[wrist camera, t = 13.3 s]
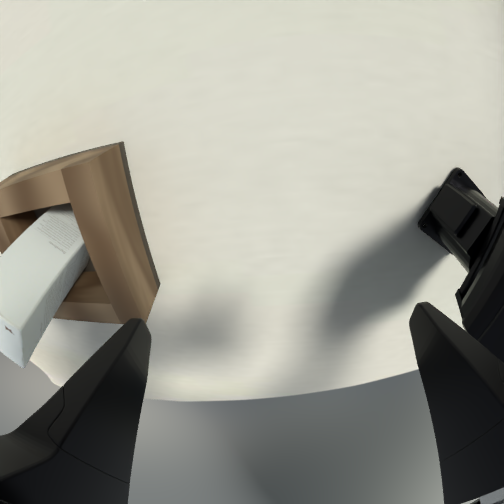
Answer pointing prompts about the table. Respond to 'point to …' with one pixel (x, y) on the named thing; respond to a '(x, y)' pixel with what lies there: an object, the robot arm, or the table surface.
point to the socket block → (89, 230)
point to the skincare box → (38, 279)
